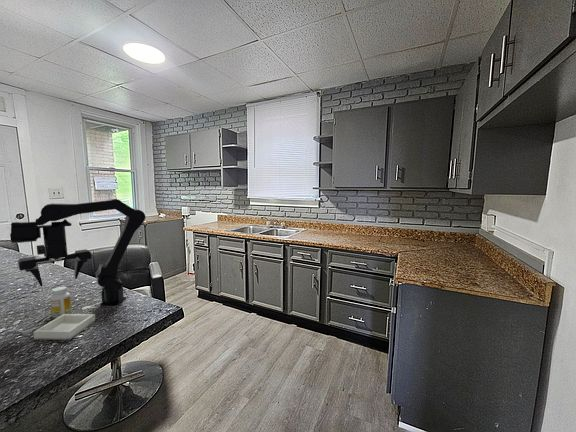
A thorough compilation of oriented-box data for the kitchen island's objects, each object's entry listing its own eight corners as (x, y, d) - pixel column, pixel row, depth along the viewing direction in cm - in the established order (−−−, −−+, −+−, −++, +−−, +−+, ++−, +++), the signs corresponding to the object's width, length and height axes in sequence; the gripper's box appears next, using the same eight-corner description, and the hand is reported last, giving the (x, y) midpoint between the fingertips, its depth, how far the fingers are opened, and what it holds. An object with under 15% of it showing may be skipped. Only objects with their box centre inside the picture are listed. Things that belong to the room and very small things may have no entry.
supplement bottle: (69, 309, 95) (67, 284, 94) (73, 313, 92) (70, 288, 91) (50, 314, 91) (47, 288, 90) (53, 319, 88) (50, 292, 86)
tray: (95, 320, 87) (94, 314, 87) (70, 339, 77) (69, 331, 76) (64, 320, 87) (63, 314, 86) (34, 339, 76) (33, 331, 76)
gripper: (83, 233, 100) (86, 270, 102) (14, 240, 86) (19, 283, 88) (90, 236, 93) (93, 277, 95) (16, 245, 79) (22, 292, 81)
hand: (59, 282), depth 90 cm, fingers open, 9 cm apart
